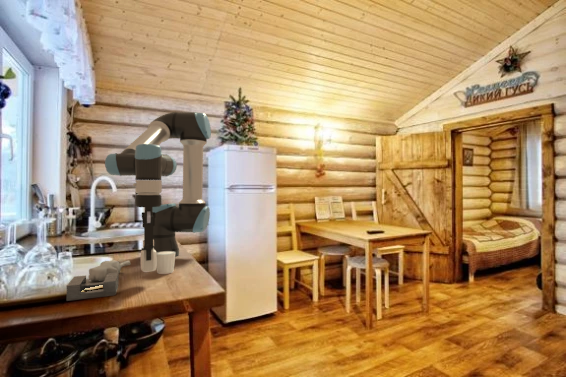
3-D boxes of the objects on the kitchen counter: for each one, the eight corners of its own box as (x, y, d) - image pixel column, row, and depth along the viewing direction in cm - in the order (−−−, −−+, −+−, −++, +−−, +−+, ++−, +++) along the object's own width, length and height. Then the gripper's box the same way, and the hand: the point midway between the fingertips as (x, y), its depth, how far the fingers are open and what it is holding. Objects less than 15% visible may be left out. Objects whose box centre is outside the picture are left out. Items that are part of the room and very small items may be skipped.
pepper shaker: (140, 270, 97) (140, 240, 96) (153, 268, 99) (153, 238, 99) (143, 273, 93) (143, 242, 93) (156, 270, 96) (157, 240, 96)
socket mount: (74, 290, 90) (74, 276, 90) (118, 285, 95) (118, 272, 95) (66, 300, 81) (66, 285, 81) (115, 295, 86) (115, 281, 86)
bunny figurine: (79, 270, 97) (108, 255, 112) (80, 285, 98) (109, 268, 113) (108, 271, 97) (133, 255, 112) (109, 286, 97) (134, 269, 112)
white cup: (168, 275, 107) (168, 255, 107) (151, 273, 108) (151, 254, 108) (179, 270, 114) (179, 251, 114) (162, 269, 115) (162, 250, 115)
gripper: (136, 193, 102) (136, 262, 103) (134, 195, 86) (134, 277, 87) (160, 193, 105) (160, 260, 106) (162, 195, 89) (162, 274, 90)
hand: (148, 268), depth 96 cm, fingers closed on pepper shaker, 4 cm apart
